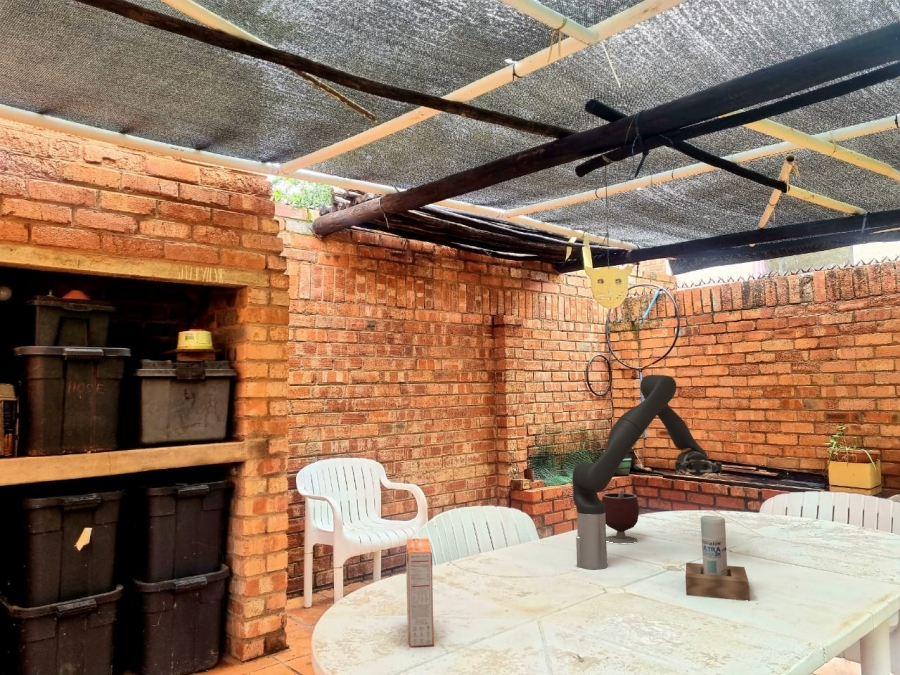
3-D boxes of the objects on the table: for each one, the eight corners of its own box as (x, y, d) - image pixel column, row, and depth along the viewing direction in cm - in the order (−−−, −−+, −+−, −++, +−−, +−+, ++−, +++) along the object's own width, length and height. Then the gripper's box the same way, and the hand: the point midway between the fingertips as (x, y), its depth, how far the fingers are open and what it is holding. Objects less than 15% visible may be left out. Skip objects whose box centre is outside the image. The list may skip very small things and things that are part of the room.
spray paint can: (700, 589, 182) (696, 518, 184) (709, 584, 187) (705, 514, 189) (723, 594, 178) (719, 520, 180) (732, 589, 182) (728, 517, 184)
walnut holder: (686, 595, 177) (685, 576, 178) (686, 579, 192) (686, 562, 193) (749, 600, 172) (748, 581, 172) (745, 584, 187) (744, 566, 187)
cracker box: (406, 625, 156) (405, 538, 158) (430, 624, 157) (430, 537, 159) (407, 648, 142) (406, 551, 144) (434, 646, 143) (433, 550, 145)
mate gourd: (600, 536, 253) (599, 485, 255) (637, 537, 251) (635, 485, 253) (604, 545, 238) (602, 490, 240) (643, 546, 236) (641, 491, 238)
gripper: (673, 452, 221) (675, 456, 205) (717, 452, 217) (723, 456, 201) (674, 474, 220) (676, 480, 205) (718, 475, 216) (724, 481, 201)
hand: (699, 468), depth 203 cm, fingers open, 8 cm apart
